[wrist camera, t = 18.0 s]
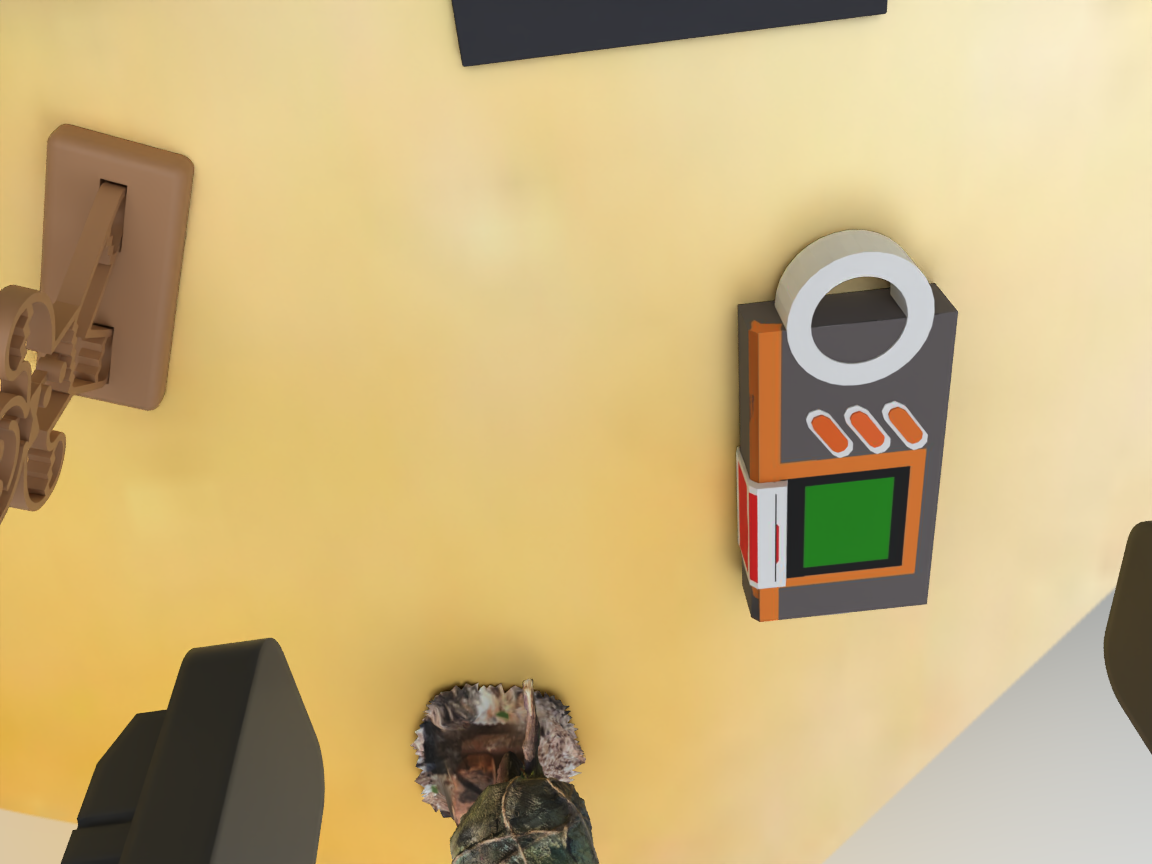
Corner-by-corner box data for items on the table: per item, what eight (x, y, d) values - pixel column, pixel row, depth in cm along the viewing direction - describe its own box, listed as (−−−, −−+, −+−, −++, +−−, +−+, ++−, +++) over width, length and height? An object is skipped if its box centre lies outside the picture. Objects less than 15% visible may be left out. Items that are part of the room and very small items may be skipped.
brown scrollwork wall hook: (164, 400, 36) (39, 665, 26) (42, 373, 35) (-133, 637, 25) (195, 158, 31) (57, 372, 22) (56, 120, 30) (-154, 325, 21)
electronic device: (970, 244, 32) (929, 617, 40) (936, 209, 34) (904, 567, 42) (746, 269, 32) (750, 636, 40) (729, 232, 34) (736, 585, 42)
